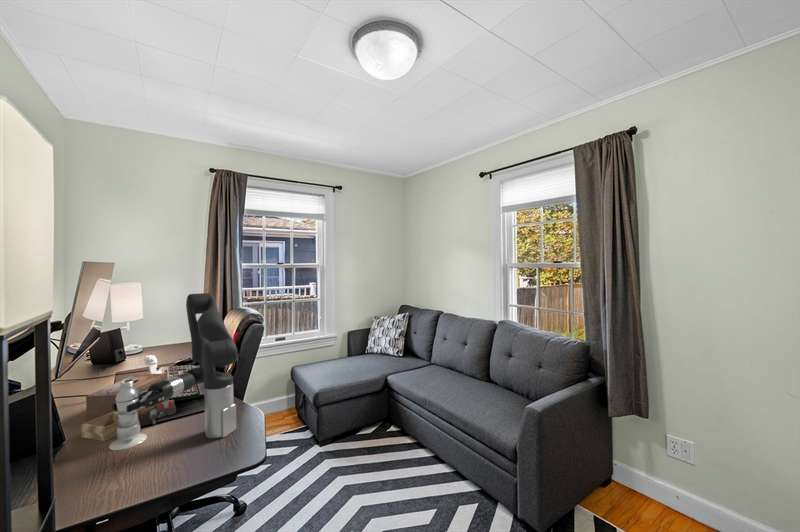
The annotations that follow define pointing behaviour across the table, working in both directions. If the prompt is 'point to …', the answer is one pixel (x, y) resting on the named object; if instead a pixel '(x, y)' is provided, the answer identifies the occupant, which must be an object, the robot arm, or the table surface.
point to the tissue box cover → (105, 397)
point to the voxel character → (152, 364)
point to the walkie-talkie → (162, 410)
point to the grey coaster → (128, 442)
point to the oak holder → (101, 427)
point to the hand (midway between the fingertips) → (120, 408)
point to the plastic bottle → (127, 420)
